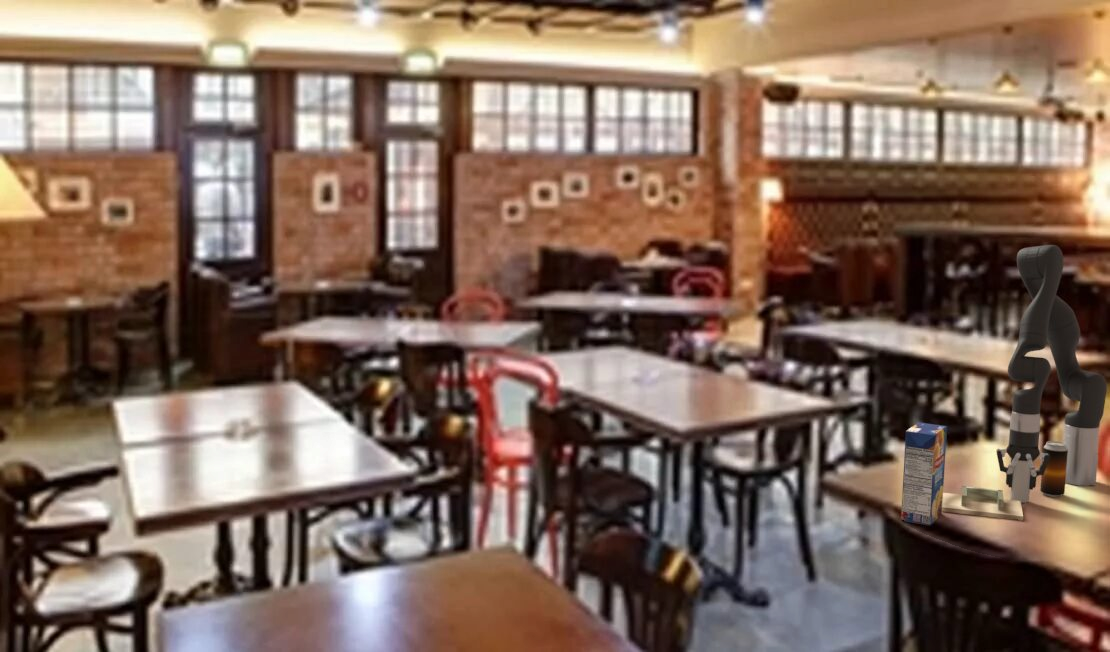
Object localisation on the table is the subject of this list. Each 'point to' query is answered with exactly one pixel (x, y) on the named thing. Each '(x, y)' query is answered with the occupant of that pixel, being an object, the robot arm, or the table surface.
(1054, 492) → the beverage can
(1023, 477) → the white cylinder
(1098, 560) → the table surface
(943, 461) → the juice carton
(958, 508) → the rest
